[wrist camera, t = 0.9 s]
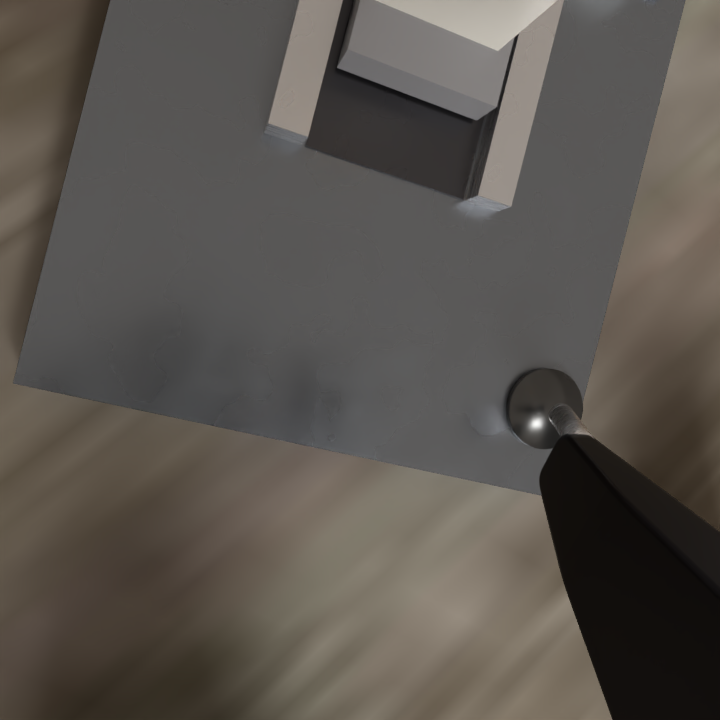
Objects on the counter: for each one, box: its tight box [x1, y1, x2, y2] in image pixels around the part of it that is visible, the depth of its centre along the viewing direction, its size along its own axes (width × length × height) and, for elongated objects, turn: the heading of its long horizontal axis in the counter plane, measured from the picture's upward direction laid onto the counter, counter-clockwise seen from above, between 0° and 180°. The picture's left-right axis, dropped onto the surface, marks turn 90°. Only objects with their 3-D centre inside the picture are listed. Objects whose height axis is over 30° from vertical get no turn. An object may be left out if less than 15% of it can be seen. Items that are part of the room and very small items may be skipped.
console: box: [13, 0, 685, 496], centre depth 21 cm, size 24×18×2 cm
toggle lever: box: [549, 403, 594, 438], centre depth 20 cm, size 1×1×4 cm
